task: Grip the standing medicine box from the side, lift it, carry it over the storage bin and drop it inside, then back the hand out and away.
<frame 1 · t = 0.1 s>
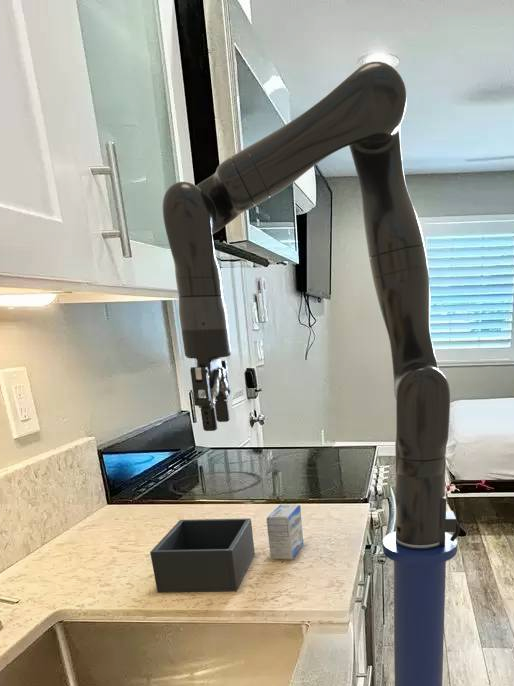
hand: (217, 425, 99), 26 cm above the worktop, tool pointing down, fingers open, 8 cm apart
storage bin: (209, 572, 104), on the worktop
medicine box: (287, 552, 112), on the worktop
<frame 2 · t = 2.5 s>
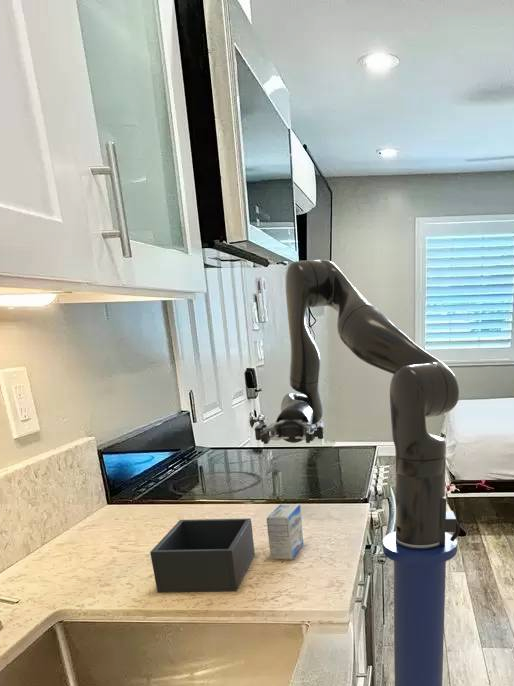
hand: (286, 438, 114), 20 cm above the worktop, tool horizontal, fingers open, 8 cm apart
nothing on the worktop moved.
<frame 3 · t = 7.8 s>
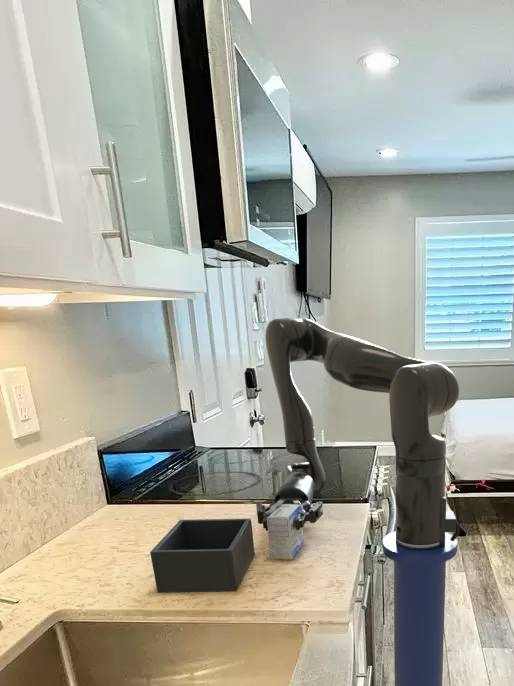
hand: (282, 525, 107), 7 cm above the worktop, tool horizontal, fingers closed on medicine box, 5 cm apart
medicine box: (287, 552, 112), on the worktop, touching gripper
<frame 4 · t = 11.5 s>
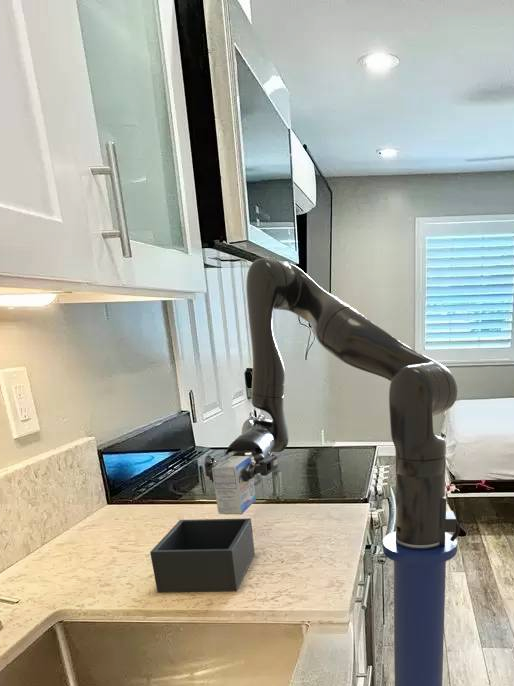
hand: (229, 476, 99), 18 cm above the worktop, tool horizontal, fingers closed on medicine box, 5 cm apart
medicine box: (237, 508, 104), point 11 cm above the worktop, touching gripper
when the fingers open (10 cm above the worktop, at t = 15.4 s): medicine box drops 2 cm, resting on storage bin.
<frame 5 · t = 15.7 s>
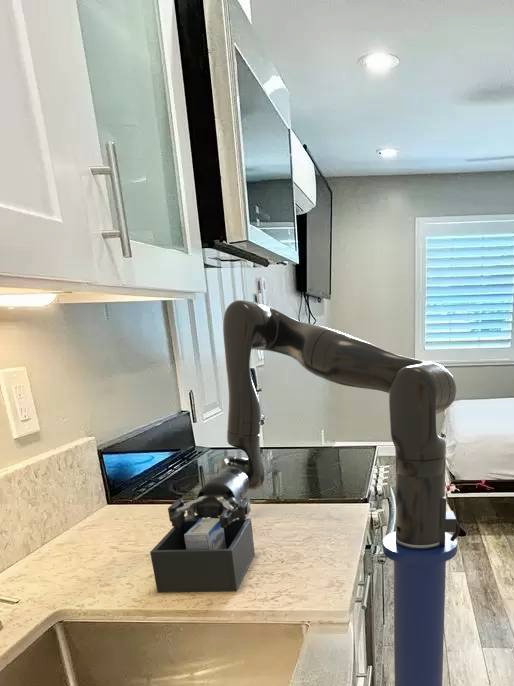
hand: (198, 523, 98), 10 cm above the worktop, tool horizontal, fingers open, 7 cm apart
medicine box: (210, 570, 104), resting on storage bin
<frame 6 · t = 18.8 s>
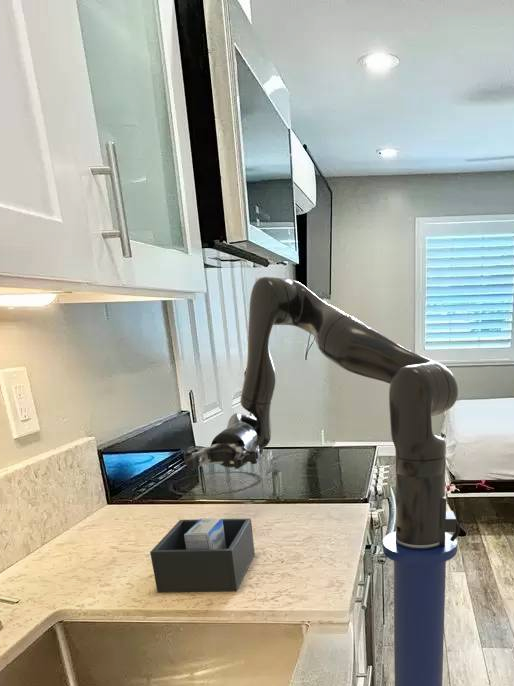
hand: (213, 464, 108), 17 cm above the worktop, tool horizontal, fingers open, 8 cm apart
nothing on the worktop moved.
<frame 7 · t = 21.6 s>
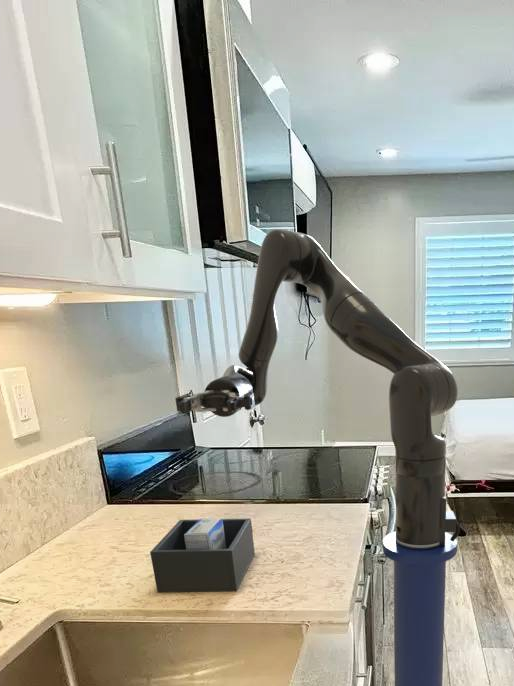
hand: (206, 407, 104), 28 cm above the worktop, tool horizontal, fingers open, 8 cm apart
nothing on the worktop moved.
at the end: medicine box inside the target area in the storage bin (0.2 cm from its centre), point 0.4 cm above the storage bin's base; the gripper is holding nothing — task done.
